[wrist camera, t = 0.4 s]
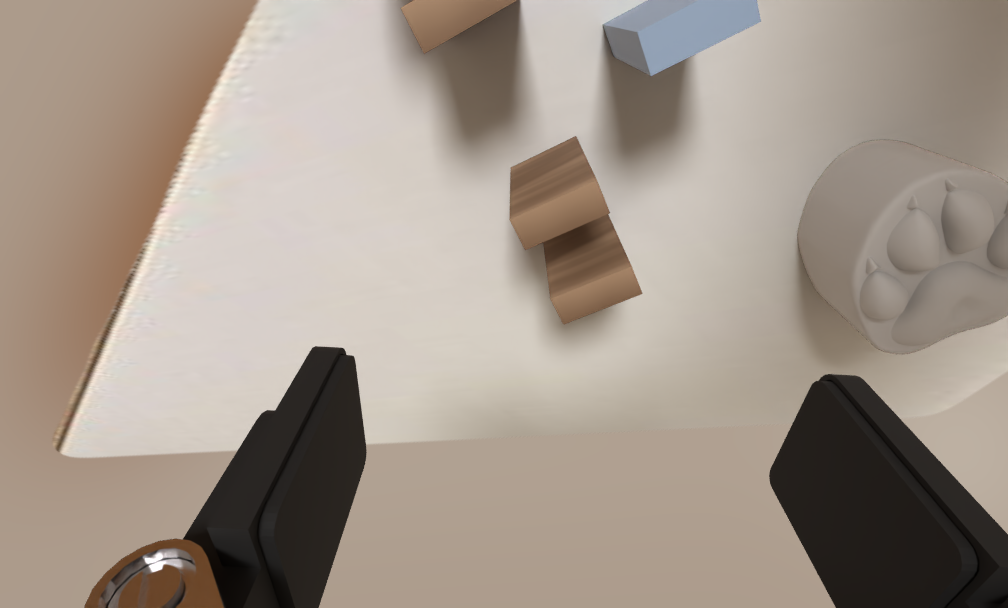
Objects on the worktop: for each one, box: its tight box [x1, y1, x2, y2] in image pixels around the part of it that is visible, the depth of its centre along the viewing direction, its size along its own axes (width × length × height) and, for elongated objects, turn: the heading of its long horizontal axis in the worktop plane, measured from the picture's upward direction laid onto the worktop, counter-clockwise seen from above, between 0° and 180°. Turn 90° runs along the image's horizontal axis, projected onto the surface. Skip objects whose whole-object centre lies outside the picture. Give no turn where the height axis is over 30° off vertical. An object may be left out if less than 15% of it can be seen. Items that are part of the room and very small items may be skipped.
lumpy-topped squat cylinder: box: [797, 140, 1008, 354], centre depth 33 cm, size 10×13×9 cm
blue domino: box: [603, 0, 761, 76], centre depth 26 cm, size 2×5×10 cm, turn 116°
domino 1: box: [401, 0, 517, 54], centre depth 26 cm, size 2×5×10 cm, turn 116°
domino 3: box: [543, 214, 642, 324], centre depth 33 cm, size 2×5×10 cm, turn 116°
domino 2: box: [510, 136, 610, 250], centre depth 31 cm, size 2×5×10 cm, turn 116°
